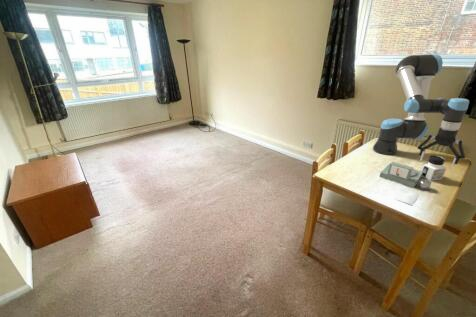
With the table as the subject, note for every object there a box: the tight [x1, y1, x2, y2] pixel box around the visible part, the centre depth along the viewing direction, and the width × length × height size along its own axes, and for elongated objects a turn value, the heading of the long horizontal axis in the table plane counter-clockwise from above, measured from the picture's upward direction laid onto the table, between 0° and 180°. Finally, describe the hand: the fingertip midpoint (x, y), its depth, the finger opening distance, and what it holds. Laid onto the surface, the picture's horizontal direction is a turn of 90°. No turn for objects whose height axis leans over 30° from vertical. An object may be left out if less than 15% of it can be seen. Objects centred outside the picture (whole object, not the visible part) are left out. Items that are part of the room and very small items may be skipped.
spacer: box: [416, 178, 432, 192], centre depth 121 cm, size 5×5×4 cm
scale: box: [379, 161, 423, 188], centre depth 130 cm, size 18×17×10 cm
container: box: [419, 155, 447, 182], centre depth 128 cm, size 8×8×13 cm
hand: (435, 164), depth 127 cm, fingers open, 13 cm apart
